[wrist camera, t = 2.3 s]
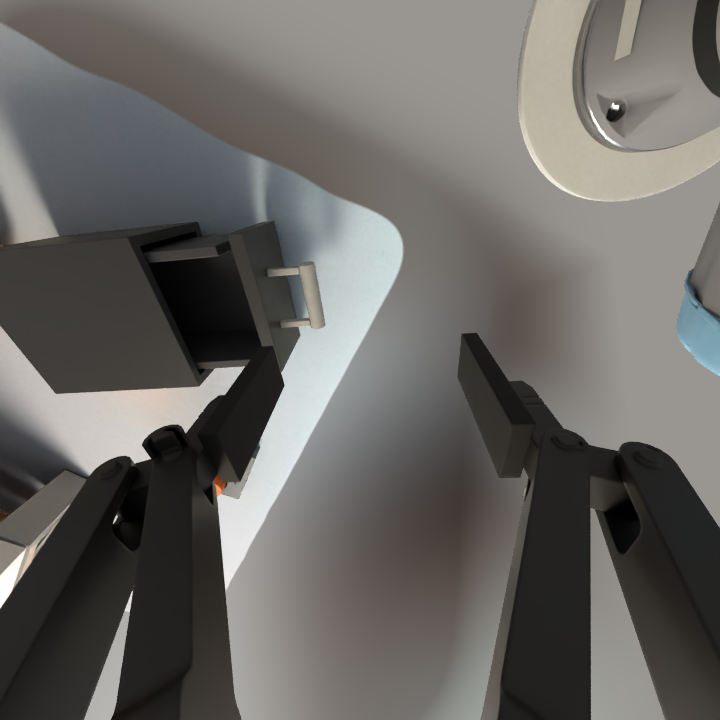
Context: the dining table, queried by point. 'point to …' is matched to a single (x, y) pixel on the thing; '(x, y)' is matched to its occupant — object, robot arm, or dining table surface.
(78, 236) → the dark grey drawer cabinet
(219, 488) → the button
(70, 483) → the transformer
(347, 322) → the dining table surface
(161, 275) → the drawer
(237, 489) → the control block
